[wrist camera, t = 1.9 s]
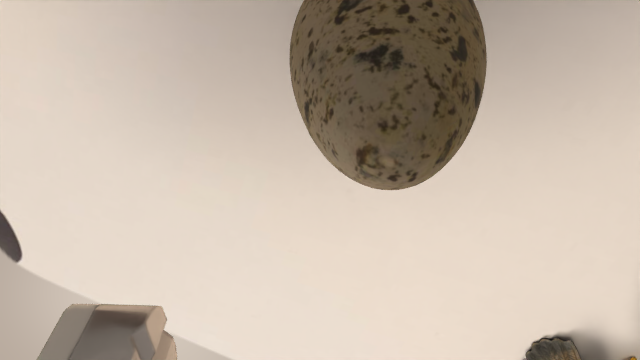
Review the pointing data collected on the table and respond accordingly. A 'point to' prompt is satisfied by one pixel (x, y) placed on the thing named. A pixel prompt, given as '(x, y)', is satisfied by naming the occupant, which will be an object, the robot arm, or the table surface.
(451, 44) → the decorative egg
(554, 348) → the eagle figurine
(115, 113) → the table surface
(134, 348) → the robot arm
